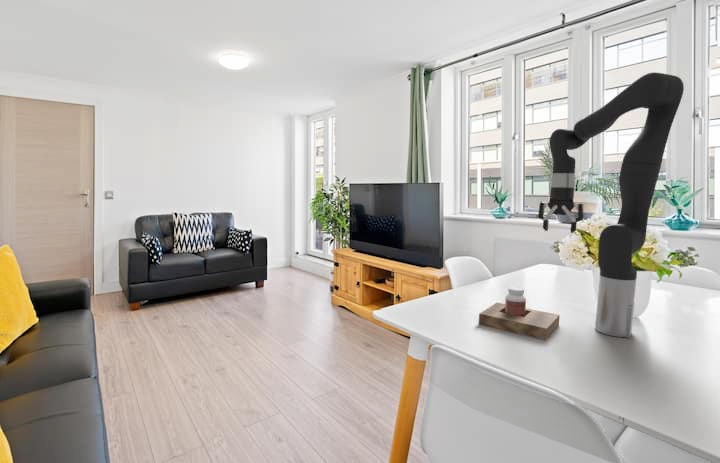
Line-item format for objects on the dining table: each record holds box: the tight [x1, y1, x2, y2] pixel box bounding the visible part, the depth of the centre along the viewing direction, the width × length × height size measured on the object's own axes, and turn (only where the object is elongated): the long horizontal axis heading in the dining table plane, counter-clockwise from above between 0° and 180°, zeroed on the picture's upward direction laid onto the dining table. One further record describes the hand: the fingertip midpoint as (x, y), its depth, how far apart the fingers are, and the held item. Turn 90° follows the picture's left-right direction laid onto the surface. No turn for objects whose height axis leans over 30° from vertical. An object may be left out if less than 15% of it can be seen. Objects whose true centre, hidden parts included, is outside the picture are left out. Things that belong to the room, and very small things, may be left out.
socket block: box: [478, 302, 560, 341], centre depth 124 cm, size 20×16×4 cm
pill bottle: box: [504, 286, 527, 317], centre depth 126 cm, size 6×6×11 cm
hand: (559, 231), depth 140 cm, fingers open, 8 cm apart
